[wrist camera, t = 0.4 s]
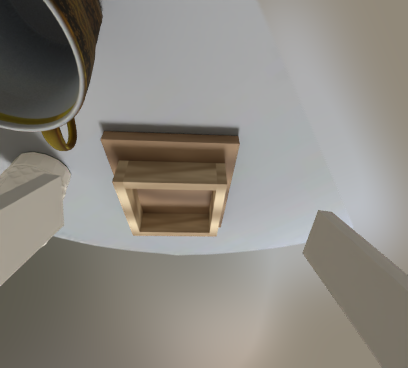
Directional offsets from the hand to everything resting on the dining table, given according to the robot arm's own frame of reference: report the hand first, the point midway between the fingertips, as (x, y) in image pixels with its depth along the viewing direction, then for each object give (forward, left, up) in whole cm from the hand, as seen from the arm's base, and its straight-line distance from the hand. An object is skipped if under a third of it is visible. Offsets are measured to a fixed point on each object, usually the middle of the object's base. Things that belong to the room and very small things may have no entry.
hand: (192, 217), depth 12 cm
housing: (+17, -3, -16) cm, 24 cm away
